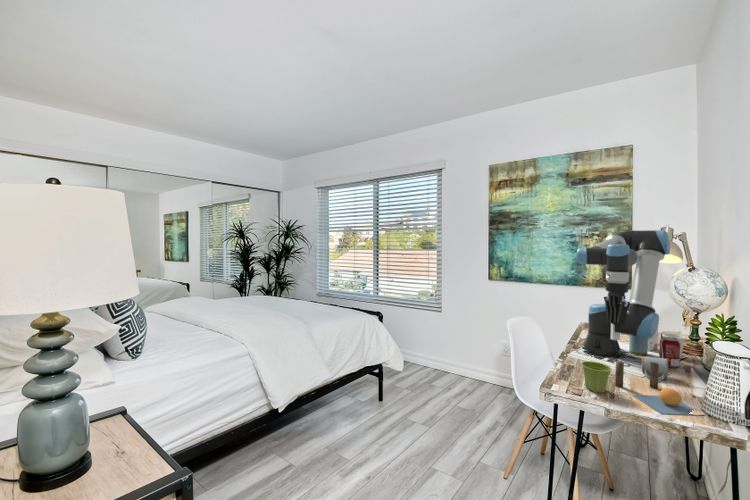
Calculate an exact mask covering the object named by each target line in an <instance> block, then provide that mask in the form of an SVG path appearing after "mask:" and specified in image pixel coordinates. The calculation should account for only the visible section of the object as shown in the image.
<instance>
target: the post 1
mask: <svg viewBox="0 0 750 500" xmlns="http://www.w3.org/2000/svg"><path fill="white" fill-rule="evenodd" d="M624 368H625V362H623V361H619V360H616V361H615V375H614V376H615V378H614V379H615V382H614V383H615V384H614V386H615V387H617V388H623V387H624V372H625V371H624V370H625V369H624Z"/></svg>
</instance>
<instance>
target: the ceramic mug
mask: <svg viewBox="0 0 750 500" xmlns="http://www.w3.org/2000/svg"><path fill="white" fill-rule="evenodd" d="M650 362H655V363H658V364H659V373H658V382H661V381H663V380H668V379H669V367H668V359H664V358H659V357H653V356H643V357H642V360H641V372H642V373H643V374H644V376H645V377H646V378H647V379H648V380H650Z"/></svg>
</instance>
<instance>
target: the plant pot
mask: <svg viewBox="0 0 750 500" xmlns="http://www.w3.org/2000/svg"><path fill="white" fill-rule="evenodd" d="M580 365H581V366H582V369H583V376H584V386H585V388H586V389H587V390H589V391H592V392H594V393H605V392H606V390H607V385H608V380H609V375H610V374H611V372H612V370H613V368H612V367H611V366H609V365H608V364H605V363H602V362H597V361H589V360H588V361H581V363H580Z"/></svg>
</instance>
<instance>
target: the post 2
mask: <svg viewBox="0 0 750 500" xmlns="http://www.w3.org/2000/svg"><path fill="white" fill-rule="evenodd" d="M658 373H659V364H658V363H655V362H650V375H649V376H650V379H649V387H650V389H651V388H652V389H655V390H656V389H657V390H658V389H659V381H658Z"/></svg>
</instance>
